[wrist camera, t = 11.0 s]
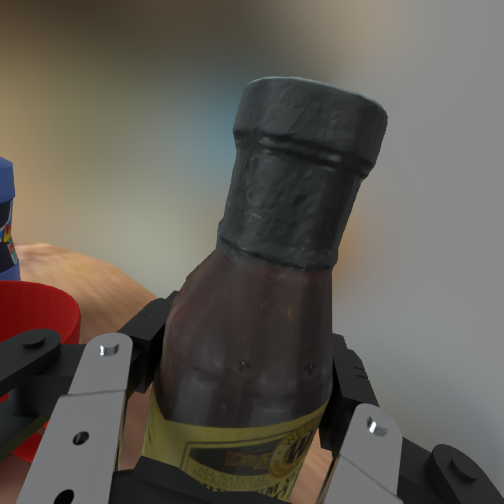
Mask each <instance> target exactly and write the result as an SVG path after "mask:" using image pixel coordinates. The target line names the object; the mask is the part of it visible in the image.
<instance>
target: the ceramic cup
mask: <svg viewBox="0 0 504 504" xmlns="http://www.w3.org/2000/svg"><path fill="white" fill-rule="evenodd" d="M80 322H81V314H80V310H79V306H78V304H77V302H76V301H75V300H74V299H73V297H72V296H70V295H69V294H67V293H66V292H64V291H62V290H60V289H57V288H55V287H52V286H48V285H44V284H40V283H33V282H25V281H8V280H1V281H0V343H1V342H3V341H5V340H7V339H9V338H11V337H13V336H15V335H17V334H20V333H22V332H25V331H29V330H34V329H51V330H55V331H57V332H58V333H59V334H60V336H61V344H78V343H79V335H80ZM7 398H9V397H8V393H7V394H5V395H4V396H2V397H1V398H0V403H2V402H3V401H4V400H6V399H7ZM48 423H49V421H47V422H46V423H45V424H44V425H43V427H44V428H45V429H46V428H47V425H48ZM36 432H37V431H36ZM36 432H35V433H34V434H32V435H31V436H30V437H29V438H28V439H27V440H25V441H24V442H23V443H22V444H21V445H20V446H19V447H17V448H16V449H15V450H14V451H13V452H12V453H13V454H15V455H16V456H18V457H20V458H22V459H23V460H25V461H27V462H29V463H32V462H33V460H34V457H35V455H36V452H37V450H38V447H39V445H40V442H41V440H42V438H43V436H41V435H39V434H37V433H36ZM9 455H10V454H9Z"/></svg>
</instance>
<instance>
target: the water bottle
mask: <svg viewBox="0 0 504 504" xmlns="http://www.w3.org/2000/svg"><path fill="white" fill-rule="evenodd" d="M14 197H15V188H14V176H13V164H12V162H10V161H8V160H6V159H4V158H2V157H0V281H1V280H8V281H21V279H20V269H19V259H18V258H17V254H16V251H15V247H14V244H13V240H12V237H11V222H12V206H13V198H14Z"/></svg>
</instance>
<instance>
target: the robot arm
mask: <svg viewBox="0 0 504 504" xmlns="http://www.w3.org/2000/svg"><path fill="white" fill-rule="evenodd" d="M178 293H179V291H173V292H172V293H171V294H170V296H168V297H167V299H163V298H159V299H156V300H154V301H151V302H150V303H148V304H147V305H146V306H145V307H144V308H143V310H141V311H140V312H139V313H138V314H137V315H135V316H134V317H133V318H132V319H131V320H130V321H129V322H127V323H126V324H125V325H124V326H123V327H122V328H121V329H120V330H119V331H118V332H116V333H105V334H102V335H99V336H97V337H95V338H93V339H92V340H90V341H89V342H88V343H87V344H83V345H82V344H61V336H60V334H59V333H58V332H57V331H55V330H51V329H34V330H29V331H25V332H22V333H20V334H17V335H15V336H13V337H11V338H9V339H7V340H5V341H3V342H1V343H0V398H1V397H2V396H4V395H5V394H7V393H8V397H9V398H7V399H6V400H4V401H3V402H2V403H0V462H1V461H2V460H4V459H5V458H6V457H7V456H8V455H9V454H11V453H12V452H13V451H14V450H15V449H16V448H17V447H19V446H20V445H21V444H22V443H23V442H24V441H25V440H27V439H28V438H29V437H30V436H31V435H32V434H34V433H35V432H36V431H37V430H38V429H39V428H40V427H42V426H43V425H44V424H45V423H46V422H47V421H49V423H48V425H47V428H46V430H45V433H44V435H43V438H42V440H41V442H40V445H39V447H38V450H37V452H36V455H35V457H34V460H33V462H32V464H31V467H30V469H29V472H28V474H27V477H26V479H25V482H24V484H23V486H22V489H21V491H20V494H19V496H18V499H17V501H16V504H292V503H289V502H286V501H283V500H280V499H276V498H273V497H270V496H267V495H264V494H261V493H258V492H255V491H224V492H216V491H211V490H209V489H208V488H206V487H205V486H203V485H202V484H201V483H199V482H198V481H196V480H195V479H194V478H192V477H191V476H189V475H188V474H187V473H185V472H184V471H182V470H181V469H180V468H178V467H176V466H173V465H170V464H167V463H164V462H160V461H157V460H154V459H151V458H148V457H145V456H142V455H141V457H140V459H139V460H138V462H137V464H136V466H135V468H134V469H127V470H120V461H121V453H122V445H123V437H124V430H125V422H126V414H127V407H128V399H129V398H130V397H131V395H132V394H133V393H134V391H136V392H139V393H143V394H144V393H145V392H146V390H147V389H148V387H149V386H150V384H151V383H152V381H153V378H154V373H155V368H156V366H157V363H158V361H159V359H160V357H161V355H162V349H163V340H164V335H165V327H166V324H165V323H166V320H167V318H168V315H169V311H170V308H171V305H172V302H173V300H174V299H175V297H176V296H177V294H178ZM332 358H333V390H332V394H331V396H330V399H329V401H328V404H327V406H326V409H325V412H324V415H323V416H322V419H321V421H320V424H319V426H318V428H319V437H320V445H321V448H323V449H326V450H330V451H332V457H333V460H332V462H331V464H330V466H329V469H328V471H327V474H326V477H325V479H324V482H323V484H322V487H321V490H320V492H319V495H318V498H317V500H316V503H315V504H504V498H503V497H502V496H501V494H500V493H499V492H498V490H497V489H496V488H495V486H494V485H493V484H492V482H491V481H490V479H489V478H488V477H487V475H486V474H485V473H484V472H483V470H482V469H481V468H480V467H479V466H478V465H477V464H476V463H475V462H474V461H473V460H471V459H470V458H469V457H468V456H466V455H465V454H464V453H462V452H461V451H459V450H457V449H455V448H453V447H451V446H448V445H444V444H439V445H436V446H435V447H434V449H433V451H432V452H431V453H430V452H429V451H427V450H425V449H423V448H421V447H420V446H418V445H416V444H414V443H413V442H411V441H409V440H407V439H406V438H404V437H403V436H402V432H401V430H400V428H399V426H398V425H397V423H396V422H395V421H394V419H393V418H392V417H391V416H390V415H389V414H387V413H386V412H385V411H383V410H382V409H380V407H379V405H378V402H377V400H376V397H375V394H374V392H373V390H372V387H371V384H370V381H369V380H368V376H367V374H366V372H365V369H364V366H363V364H362V361H361V359H360V358H359V357H358V356H357V354H356V353H355V352H354V351H353V350H350V349H347V346H346V343H345V340H344V337H343V336H342V335H339V334H335V333H332ZM119 470H120V471H119Z"/></svg>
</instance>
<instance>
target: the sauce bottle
mask: <svg viewBox="0 0 504 504" xmlns="http://www.w3.org/2000/svg"><path fill="white" fill-rule="evenodd" d="M387 119H388V116H387V113H386V111H385V110H384V109H383V107H382V106H381V105H380V104H379V103H378V102H377V101H375V100H373V99H370V98H368V97H366V96H364V95H362V94H360V93H358V92H354V91H349V90H344V89H342V88H339V87H337V86H335V85H332V84H328V83H324V82H320V81H316V80H308V79H305V78H299V77H286V78H285V77H278V76H277V77H264V78H261V79H257V80H255V81H252V82H250V83H249V84H248V85H246V86H245V88H244V92H243V95H242V98H241V101H240V104H239V108H238V111H237V115H236V118H235V122H234V126H233V134H234V139H235V144H236V149H237V155H236V160H235V165H234V168H233V172H232V179H231V185H230V189H229V193H228V197H227V201H226V206H225V212H224V217H223V219H222V220H221V221H220V222H219V226H218V231H217V244H216V249H215V250H214V251H213V252H212V253H211V254H210V255H209V256H208V257H207V258H206V259H205V260H204V261H203V262H202V263H201V264H200V265H198V266H197V267H196V268H195V269H194V270H193V271H192V272H191V273H190V274H189V275H188V276H187V278H186V282H185V283H184V284H183V286H182V288H181V289H180V291H179V293H178V294H177V296H176V297H175V299H174V300H173V302H172V305H171V308H170V311H169V315H168V318H167V320H166V323H165V324H166V327H165V335H164V340H163V349H162V355H161V357H160V359H159V361H158V363H157V366H156V368H155V373H154V378H153V385H152V391H151V398H150V404H149V411H148V417H147V424H146V430H145V436H144V443H143V449H142V456H145V457H148V458H151V459H154V460H157V461H160V462H164V463H167V464H170V465H173V466H176V467H178V468H180V469H181V470H182V471H184V472H185V473H187V474H188V475H189V476H191V477H192V478H194V479H195V480H196V481H198V482H199V483H201V484H202V485H203V486H205V487H206V488H208V489H209V490H211V491H216V492H224V491H255V492H258V493H261V494H264V495H267V496H270V497H273V498H276V499H280V500H283V501H286V502H288V499H289V497H290V494H291V491H292V489H293V487H294V485H295V482H296V479H297V477H298V475H299V472H300V470H301V468H302V465H303V462H304V460H305V457H306V455H307V452H308V450H309V448H310V445H311V443H312V440H313V438H314V436H315V433H316V431H317V428H318V426H319V424H320V421H321V419H322V416H323V415H324V412H325V409H326V406H327V404H328V401H329V399H330V396H331V394H332V390H333V358H332V269H333V267H334V265H335V264H336V263H337V261H338V247H339V244H340V241H341V238H342V235H343V232H344V230H345V227H346V224H347V221H348V218H349V216H350V213H351V210H352V207H353V203H354V201H355V199H356V195H357V192H358V190H359V188H360V185H361V182H362V181H363V180H364V179H365V178H366V177H367V176H368V174H369V172H370V171H371V170H372V168H373V167H374V165H375V164H376V160H377V157H378V154H379V152H380V148H381V143H382V140H383V137H384V134H385V131H386V127H387Z"/></svg>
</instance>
